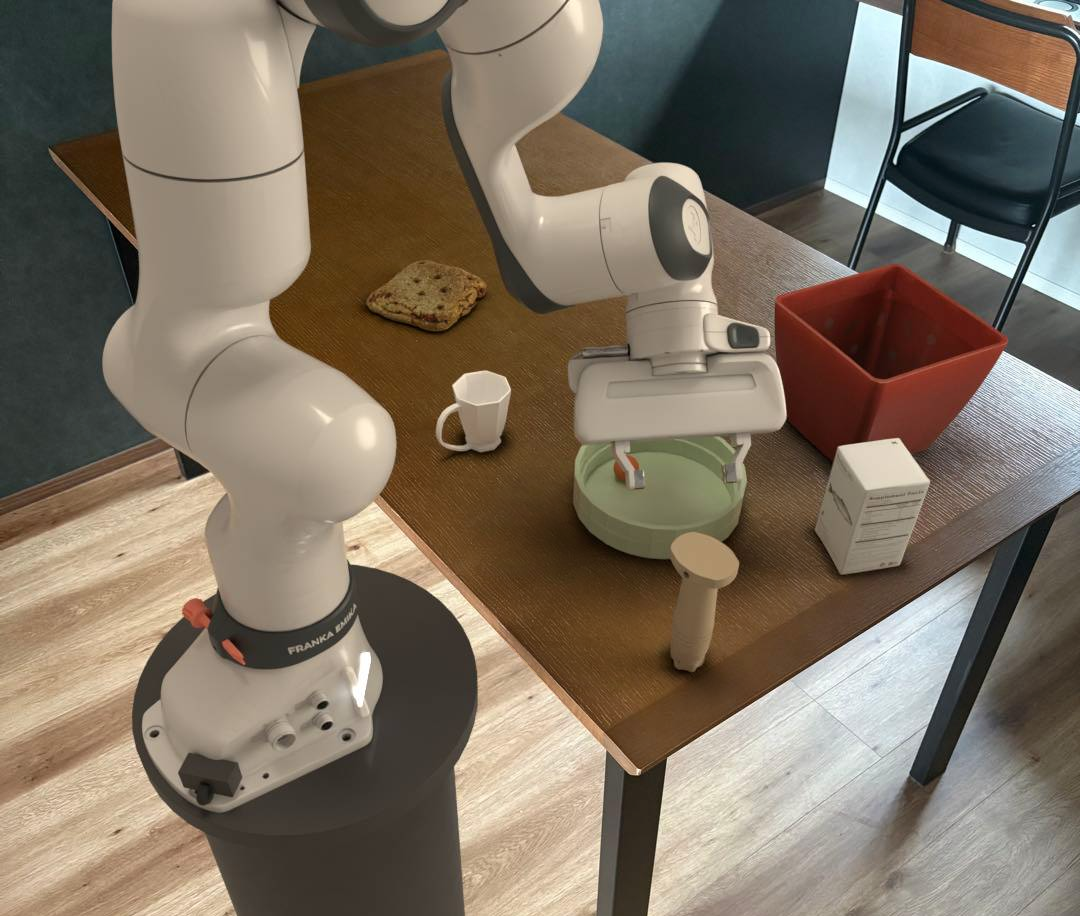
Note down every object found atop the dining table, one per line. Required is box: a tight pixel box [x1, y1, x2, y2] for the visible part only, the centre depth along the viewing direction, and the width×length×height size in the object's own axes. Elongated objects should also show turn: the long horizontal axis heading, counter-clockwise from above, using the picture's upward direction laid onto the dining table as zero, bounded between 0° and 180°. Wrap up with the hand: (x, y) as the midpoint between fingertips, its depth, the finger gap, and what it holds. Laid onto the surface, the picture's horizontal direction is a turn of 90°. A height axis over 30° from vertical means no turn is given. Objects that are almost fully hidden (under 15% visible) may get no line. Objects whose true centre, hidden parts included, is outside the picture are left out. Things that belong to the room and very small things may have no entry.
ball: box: [613, 455, 639, 481], centre depth 126 cm, size 3×3×3 cm
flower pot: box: [774, 263, 1009, 464], centre depth 128 cm, size 19×19×17 cm
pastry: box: [365, 259, 488, 332], centre depth 153 cm, size 17×17×3 cm
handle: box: [669, 532, 740, 673], centre depth 103 cm, size 5×6×15 cm
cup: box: [435, 369, 512, 453], centre depth 129 cm, size 7×10×8 cm
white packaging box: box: [814, 438, 931, 575], centre depth 115 cm, size 7×7×13 cm
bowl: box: [572, 436, 748, 560], centre depth 123 cm, size 19×19×5 cm
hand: (684, 486), depth 103 cm, fingers open, 8 cm apart
